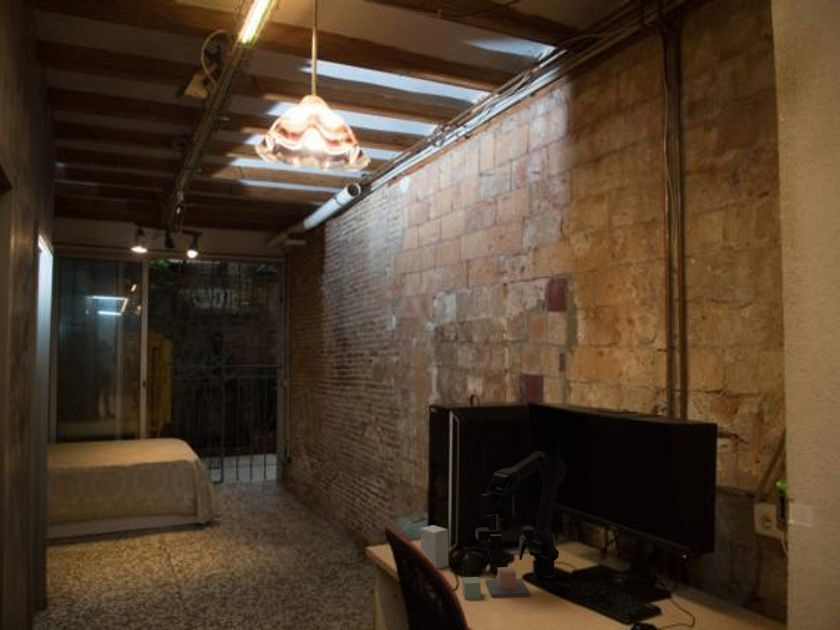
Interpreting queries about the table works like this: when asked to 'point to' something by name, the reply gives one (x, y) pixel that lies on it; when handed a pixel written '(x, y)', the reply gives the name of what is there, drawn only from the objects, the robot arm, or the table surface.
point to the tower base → (497, 592)
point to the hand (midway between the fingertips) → (506, 560)
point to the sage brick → (471, 588)
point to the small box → (435, 544)
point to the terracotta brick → (507, 578)
